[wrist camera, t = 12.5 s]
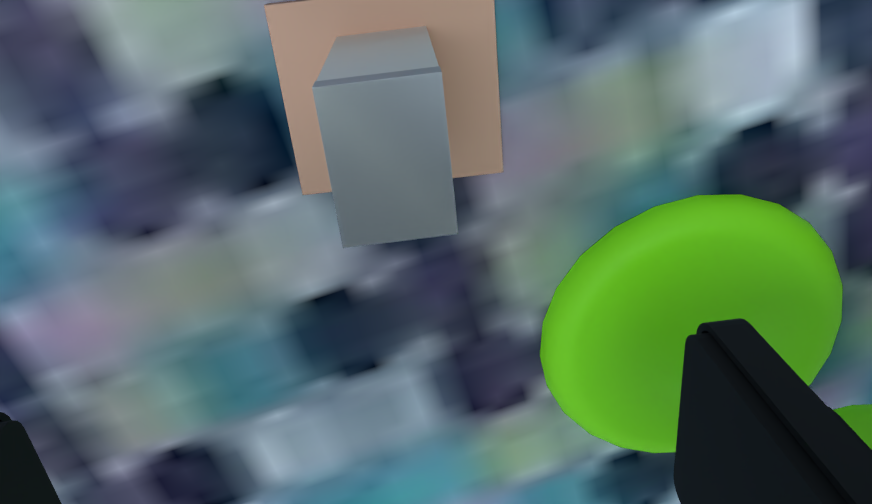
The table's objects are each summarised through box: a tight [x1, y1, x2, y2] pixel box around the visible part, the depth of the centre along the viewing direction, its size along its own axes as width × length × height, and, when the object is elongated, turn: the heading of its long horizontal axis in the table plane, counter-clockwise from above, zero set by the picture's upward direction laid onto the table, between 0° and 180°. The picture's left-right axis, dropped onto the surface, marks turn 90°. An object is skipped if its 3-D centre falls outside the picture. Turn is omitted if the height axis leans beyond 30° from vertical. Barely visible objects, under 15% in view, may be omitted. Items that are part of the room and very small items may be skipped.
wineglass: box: [540, 194, 872, 453], centre depth 27 cm, size 16×16×18 cm
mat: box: [264, 0, 503, 195], centre depth 28 cm, size 8×9×1 cm
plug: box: [312, 26, 458, 248], centre depth 23 cm, size 5×4×9 cm
